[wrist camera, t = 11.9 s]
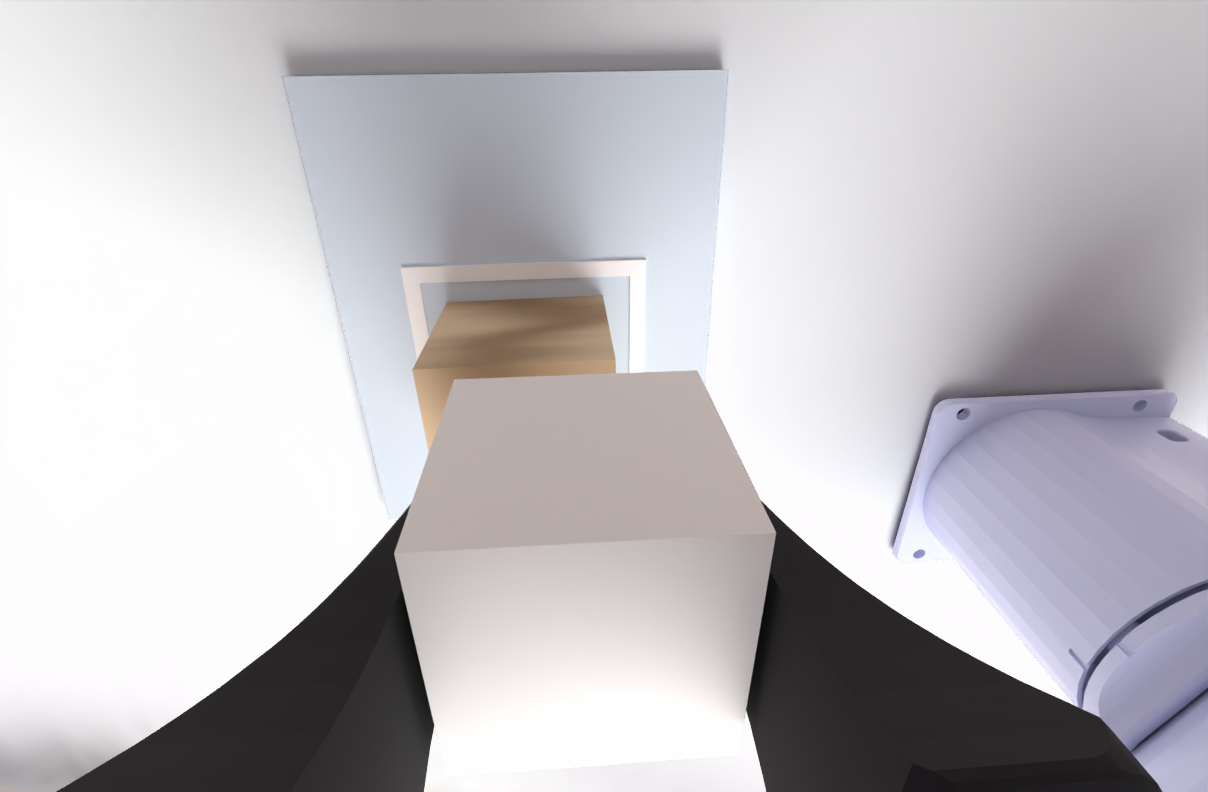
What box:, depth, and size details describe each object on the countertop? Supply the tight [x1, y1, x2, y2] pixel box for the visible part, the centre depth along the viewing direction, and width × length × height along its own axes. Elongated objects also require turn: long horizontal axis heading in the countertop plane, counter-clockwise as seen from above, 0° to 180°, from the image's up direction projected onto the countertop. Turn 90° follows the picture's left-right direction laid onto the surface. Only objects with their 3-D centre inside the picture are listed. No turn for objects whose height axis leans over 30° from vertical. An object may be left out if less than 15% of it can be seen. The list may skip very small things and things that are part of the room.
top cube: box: [394, 370, 776, 777], centre depth 11 cm, size 5×5×5 cm
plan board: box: [282, 70, 728, 519], centre depth 20 cm, size 12×15×1 cm
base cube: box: [412, 295, 616, 452], centre depth 18 cm, size 5×5×5 cm
